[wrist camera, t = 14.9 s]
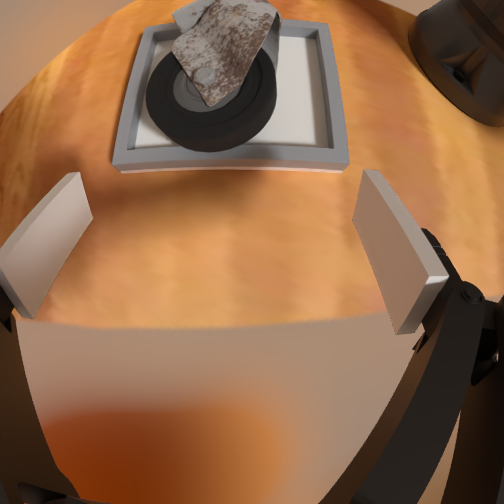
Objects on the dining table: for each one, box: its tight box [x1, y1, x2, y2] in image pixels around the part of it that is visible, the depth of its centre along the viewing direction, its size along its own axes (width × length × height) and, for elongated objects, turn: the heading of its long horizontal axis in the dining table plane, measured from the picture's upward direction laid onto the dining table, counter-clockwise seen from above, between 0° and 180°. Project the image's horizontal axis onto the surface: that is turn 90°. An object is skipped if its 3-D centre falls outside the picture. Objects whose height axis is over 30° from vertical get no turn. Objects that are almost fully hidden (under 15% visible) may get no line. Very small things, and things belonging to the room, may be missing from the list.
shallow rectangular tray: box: [112, 19, 350, 174], centre depth 20 cm, size 16×14×2 cm
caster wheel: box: [146, 0, 282, 153], centre depth 17 cm, size 7×11×10 cm
